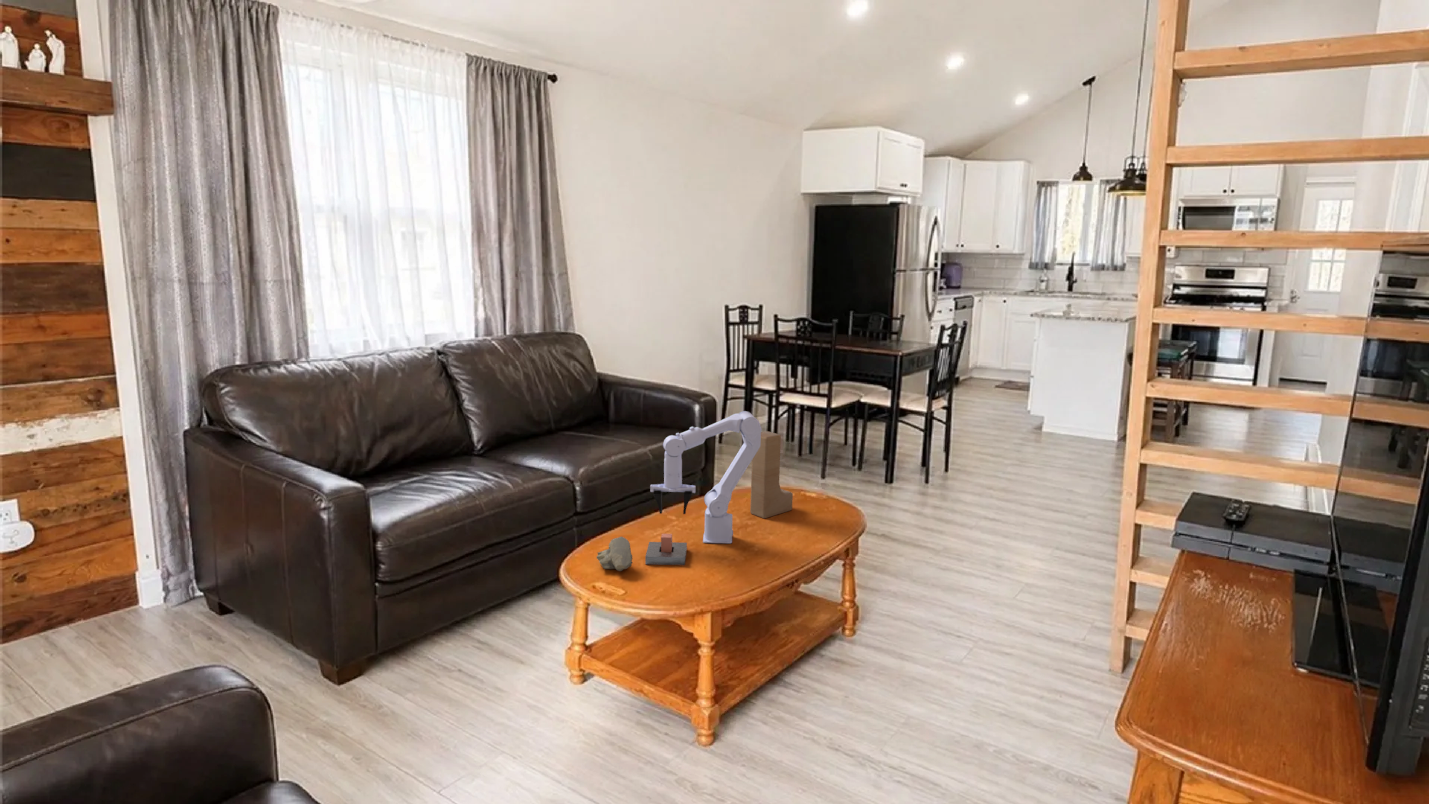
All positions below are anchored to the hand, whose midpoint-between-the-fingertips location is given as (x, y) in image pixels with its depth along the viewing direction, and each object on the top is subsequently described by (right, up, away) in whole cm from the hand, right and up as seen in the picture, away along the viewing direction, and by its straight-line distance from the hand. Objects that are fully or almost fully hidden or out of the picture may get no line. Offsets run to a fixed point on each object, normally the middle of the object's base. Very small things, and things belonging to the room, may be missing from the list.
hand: (672, 512), depth 265 cm
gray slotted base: (-1, -12, -11) cm, 16 cm away
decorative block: (+34, -4, +32) cm, 47 cm away
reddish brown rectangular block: (-1, -12, -10) cm, 16 cm away
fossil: (-16, -14, -20) cm, 29 cm away
